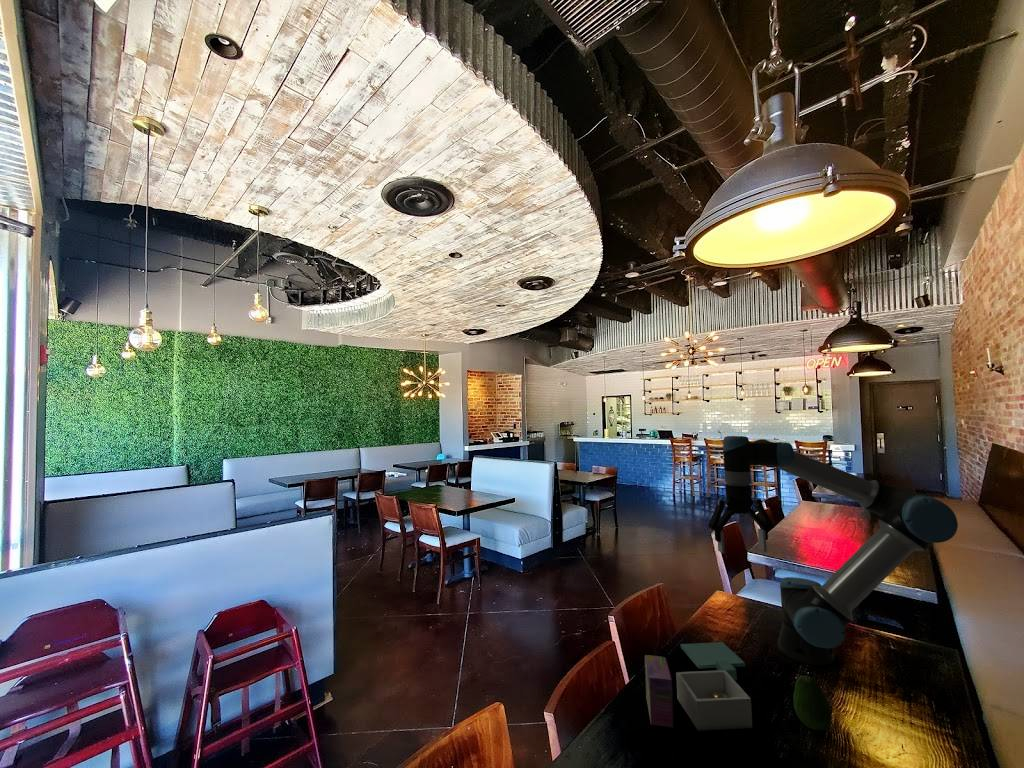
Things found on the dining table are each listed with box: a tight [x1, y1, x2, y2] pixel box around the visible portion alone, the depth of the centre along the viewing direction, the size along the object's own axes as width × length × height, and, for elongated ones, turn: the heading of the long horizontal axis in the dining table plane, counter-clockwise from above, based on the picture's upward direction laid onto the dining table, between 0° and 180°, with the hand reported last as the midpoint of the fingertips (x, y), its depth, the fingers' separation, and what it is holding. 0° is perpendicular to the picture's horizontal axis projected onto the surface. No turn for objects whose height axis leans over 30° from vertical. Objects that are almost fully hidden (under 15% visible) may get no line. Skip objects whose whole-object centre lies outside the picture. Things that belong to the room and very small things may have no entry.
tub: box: [675, 669, 753, 732], centre depth 112 cm, size 14×12×7 cm
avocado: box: [792, 675, 832, 731], centre depth 106 cm, size 8×8×12 cm
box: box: [644, 654, 674, 728], centre depth 112 cm, size 10×6×12 cm, turn 168°
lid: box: [679, 641, 746, 682], centre depth 133 cm, size 15×18×3 cm
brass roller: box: [711, 693, 730, 698], centre depth 113 cm, size 4×3×3 cm
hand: (742, 551), depth 135 cm, fingers open, 13 cm apart
